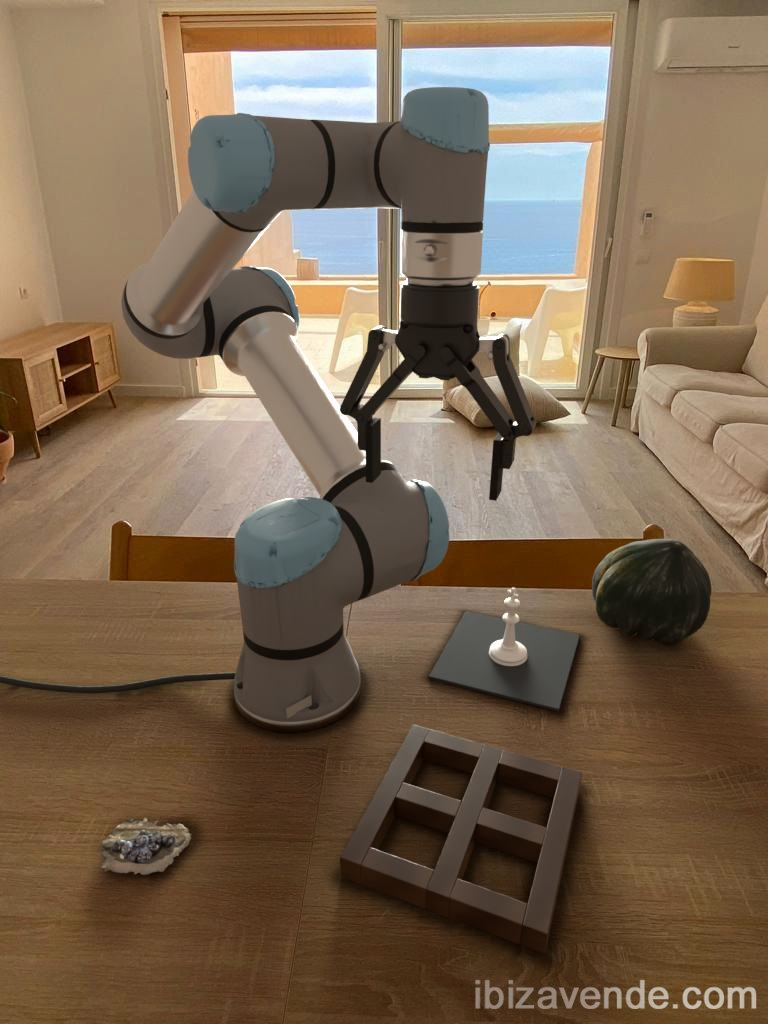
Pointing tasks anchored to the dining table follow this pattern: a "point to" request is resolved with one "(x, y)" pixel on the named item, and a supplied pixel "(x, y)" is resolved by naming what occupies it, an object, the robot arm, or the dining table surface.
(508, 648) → the chess piece
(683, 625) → the squash
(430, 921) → the dining table surface
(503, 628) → the mat
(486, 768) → the holder
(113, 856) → the blueberries
